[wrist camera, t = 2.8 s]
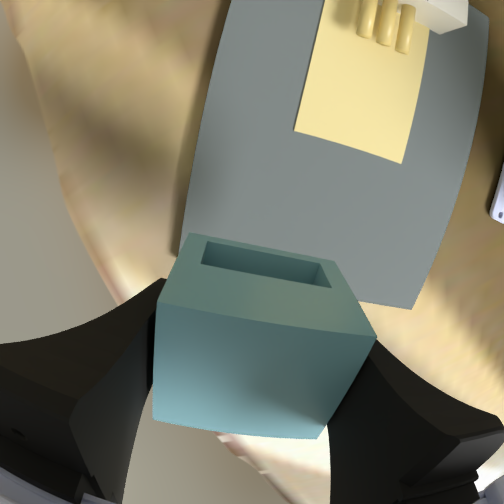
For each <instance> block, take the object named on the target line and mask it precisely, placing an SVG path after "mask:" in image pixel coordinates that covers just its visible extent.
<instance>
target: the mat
mask: <svg viewBox="0 0 504 504" xmlns="http://www.w3.org/2000/svg"><path fill="white" fill-rule="evenodd" d="M361 5H362V0H232V1H231V4H230V7H229V11H228V14H227V18H226V21H225V25H224V29H223V32H222V36H221V40H220V44H219V47H218V51H217V55H216V59H215V63H214V67H213V71H212V75H211V80H210V84H209V88H208V93H207V97H206V102H205V106H204V111H203V115H202V120H201V125H200V130H199V135H198V140H197V145H196V150H195V155H194V160H193V166H192V171H191V177H190V183H189V189H188V195H187V201H186V207H185V213H184V220H183V226H182V233H181V240H180V247H179V253H180V251H181V249H182V246H183V244H184V242H185V240H186V238H187V236H188V234H189V232H191V233H196V234H201V235H206V236H211V237H217V238H222V239H227V240H232V241H237V242H242V243H247V244H252V245H257V246H262V247H267V248H272V249H277V250H282V251H287V252H292V253H297V254H302V255H307V256H312V257H317V258H322V259H327V260H332V261H335V263H336V265H337V266H338V268H339V270H340V271H341V273H342V275H343V276H344V278H345V280H346V282H347V283H348V285H349V287H350V289H351V290H352V292H353V294H354V296H355V297H356V299H357V301H361V302H367V303H373V304H379V305H385V306H391V307H397V308H403V309H409V310H412V308H413V306H414V304H415V301H416V299H417V297H418V295H419V293H420V291H421V289H422V286H423V284H424V282H425V280H426V278H427V275H428V273H429V271H430V268H431V266H432V264H433V261H434V259H435V256H436V254H437V251H438V249H439V246H440V244H441V241H442V239H443V236H444V233H445V231H446V228H447V225H448V222H449V220H450V217H451V214H452V211H453V208H454V205H455V202H456V199H457V196H458V193H459V189H460V186H461V183H462V179H463V176H464V172H465V169H466V165H467V161H468V158H469V154H470V150H471V146H472V142H473V137H474V133H475V128H476V123H477V118H478V113H479V108H480V102H481V96H482V90H483V83H484V76H485V68H486V59H487V48H488V34H489V18H488V17H487V16H486V15H484V14H483V13H481V12H480V11H479V10H477V9H476V8H474V7H473V6H471V5H470V4H468V18H467V26H464V27H461V28H458V29H455V30H452V31H449V32H446V33H443V34H440V35H439V34H437V33H436V32H434V31H432V30H430V28H428V27H426V26H424V25H422V24H420V23H418V22H416V21H414V28H413V34H412V40H411V46H410V52H409V54H408V55H405V54H401V53H398V52H397V51H395V44H396V39H397V33H398V27H399V21H400V14H399V13H397V12H396V19H395V25H394V30H393V36H392V42H391V46H389V47H387V46H382V45H380V44H378V43H376V37H377V32H378V26H379V21H380V15H381V10H382V6H381V5H378V4H377V10H376V16H375V21H374V26H373V32H372V37H371V38H370V39H365V38H362V37H359V36H357V35H356V30H357V25H358V20H359V15H360V10H361Z"/></svg>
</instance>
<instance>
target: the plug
mask: <svg viewBox="0 0 504 504" xmlns="http://www.w3.org/2000/svg"><path fill="white" fill-rule="evenodd" d="M376 338H377V335H376V333H375V332H374V330H373V328H372V326H371V324H370V322H369V321H368V319H367V317H366V315H365V313H364V312H363V310H362V308H361V306H360V304H359V303H358V301H357V299H356V297H355V296H354V294H353V292H352V290H351V289H350V287H349V285H348V283H347V282H346V280H345V278H344V276H343V275H342V273H341V271H340V270H339V268H338V266H337V265H336V263H335V261H332V260H327V259H322V258H317V257H312V256H307V255H302V254H297V253H292V252H287V251H282V250H277V249H272V248H267V247H262V246H257V245H252V244H247V243H242V242H237V241H232V240H227V239H222V238H217V237H211V236H206V235H201V234H196V233H191V232H189V234H188V236H187V238H186V240H185V242H184V244H183V246H182V249H181V251H180V253H179V255H178V257H177V259H176V261H175V263H174V265H173V268H172V270H171V272H170V274H169V276H168V278H167V281H166V283H165V285H164V287H163V289H162V291H161V294H160V296H159V298H158V300H157V309H156V323H155V341H154V365H153V420H158V421H162V422H167V423H172V424H177V425H182V426H188V427H193V428H199V429H205V430H211V431H218V432H225V433H233V434H242V435H251V436H262V437H276V438H294V439H317V438H318V436H319V435H320V433H321V432H322V430H323V429H324V427H325V426H326V424H327V423H328V421H329V420H330V418H331V417H332V415H333V414H334V412H335V410H336V409H337V407H338V406H339V404H340V402H341V401H342V399H343V397H344V396H345V394H346V392H347V391H348V389H349V387H350V386H351V384H352V382H353V381H354V379H355V377H356V375H357V374H358V372H359V370H360V368H361V366H362V365H363V363H364V361H365V359H366V357H367V356H368V354H369V352H370V350H371V348H372V346H373V344H374V342H375V340H376Z"/></svg>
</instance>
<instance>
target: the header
mask: <svg viewBox="0 0 504 504" xmlns="http://www.w3.org/2000/svg"><path fill="white" fill-rule="evenodd" d="M377 4H378V5H381V6H382V10H381V15H380V21H379V26H378V32H377V37H376V43H378V44H380V45H382V46H387V47H389V46H391V42H392V36H393V30H394V25H395V19H396V12H397V13H399V14H400V21H399V27H398V33H397V39H396V44H395V51H397V52H398V53H401V54H405V55H408V54H409V52H410V46H411V40H412V34H413V28H414V21H416V22H418V23H420V24H422V25H424V26H426V27H428V28H430V30H432V31H434V32H436V33H437V34H439V35H440V34H443V33H446V32H449V31H452V30H455V29H458V28H461V27H464V26H467V18H468V0H362V5H361V10H360V15H359V20H358V25H357V30H356V35H357V36H359V37H362V38H365V39H370V38H371V37H372V32H373V26H374V21H375V16H376V10H377Z"/></svg>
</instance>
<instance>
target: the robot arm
mask: <svg viewBox="0 0 504 504" xmlns="http://www.w3.org/2000/svg"><path fill="white" fill-rule="evenodd" d="M499 212H500V214H499ZM498 215H499V216H498ZM490 217H491V218H493V219H495V220H497V221H499V222H501V223H503V224H504V164H503V168H502V172H501V175H500V179H499V182H498V186H497V189H496V193H495V196H494V199H493V202H492V206H491V209H490ZM166 281H167V279H164V278H160V279H158V280H157V281H155V282H154V283H152V284H151V285H150V286H148V287H147V288H145V289H144V290H143V291H141V292H140V293H138V294H137V295H135V296H134V297H132V298H131V299H129V300H128V301H126V302H125V303H123V304H121V305H120V306H118V307H116V308H115V309H113V310H111V311H110V312H108V313H106V314H104V315H102V316H100V317H98V318H96V319H94V320H91V321H89V322H87V323H85V324H82V325H80V326H77V327H74V328H71V329H69V330H65V331H62V332H60V333H56V334H53V335H49V336H45V337H41V338H36V339H32V340H27V341H21V342H13V343H5V344H0V504H122V500H123V494H124V488H125V482H126V477H127V472H128V467H129V462H130V458H131V453H132V449H133V445H134V441H135V437H136V432H137V428H138V425H139V421H140V417H141V414H142V410H143V407H144V404H145V401H146V399H147V396H148V394H149V391H150V389H151V387H152V384H153V365H154V341H155V323H156V309H157V300H158V298H159V296H160V294H161V291H162V289H163V287H164V285H165V283H166ZM327 427H328V434H329V446H330V466H331V490H330V504H504V475H503V476H501V477H499V478H498V479H496V480H495V481H493V482H492V483H491V484H489V485H488V486H487V487H486V488H485V489H484V490H483V491H480V492H478V491H477V489H476V486H475V484H474V481H476V480H477V479H478V477H479V476H478V474H477V471H476V470H477V469H478V468H479V467H480V466H481V465H482V464H483V463H485V462H486V461H487V460H488V459H489V458H490V457H491V456H492V455H493V454H494V453H495V452H496V451H497V450H498V449H499V448H500V447H501V445H502V444H503V443H504V426H503V424H502V422H501V421H500V419H499V418H498V417H497V416H496V415H493V414H490V413H488V412H485V411H482V410H479V409H477V408H474V407H472V406H469V405H467V404H465V403H463V402H461V401H459V400H457V399H455V398H453V397H451V396H449V395H447V394H446V393H444V392H442V391H441V390H439V389H437V388H436V387H434V386H432V385H431V384H429V383H428V382H426V381H425V380H424V379H422V378H421V377H420V376H418V375H417V374H415V373H414V372H413V371H411V370H410V369H409V368H408V367H406V366H405V365H404V364H403V363H402V362H401V361H399V360H398V359H397V358H396V357H395V356H394V355H392V354H391V353H390V352H389V351H388V350H387V349H386V348H385V347H384V346H383V345H382V344H381V343H380V342H379V341H378V340H377V339H376V340H375V342H374V344H373V346H372V348H371V350H370V352H369V354H368V356H367V357H366V359H365V361H364V363H363V365H362V366H361V368H360V370H359V372H358V374H357V375H356V377H355V379H354V381H353V382H352V384H351V386H350V387H349V389H348V391H347V392H346V394H345V396H344V397H343V399H342V401H341V402H340V404H339V406H338V407H337V409H336V410H335V412H334V414H333V415H332V417H331V418H330V420H329V421H328V423H327Z"/></svg>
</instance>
